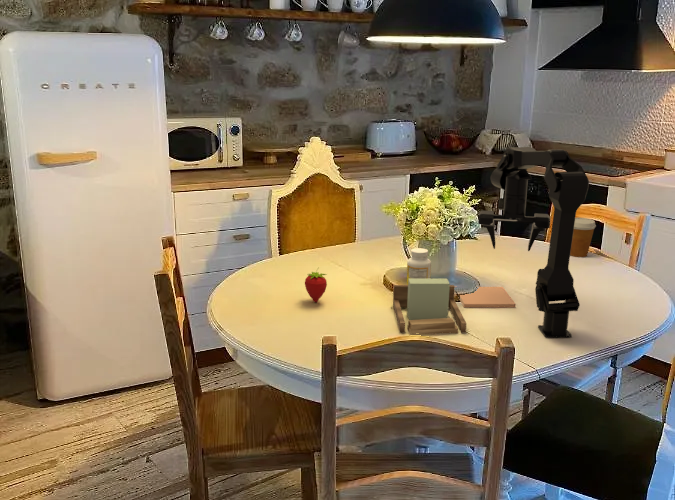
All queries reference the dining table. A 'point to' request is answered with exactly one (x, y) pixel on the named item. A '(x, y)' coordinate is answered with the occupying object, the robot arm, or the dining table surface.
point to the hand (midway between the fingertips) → (511, 249)
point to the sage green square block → (427, 298)
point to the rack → (401, 302)
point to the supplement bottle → (419, 264)
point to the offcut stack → (432, 326)
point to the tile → (488, 298)
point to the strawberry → (315, 285)
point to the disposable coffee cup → (582, 237)
